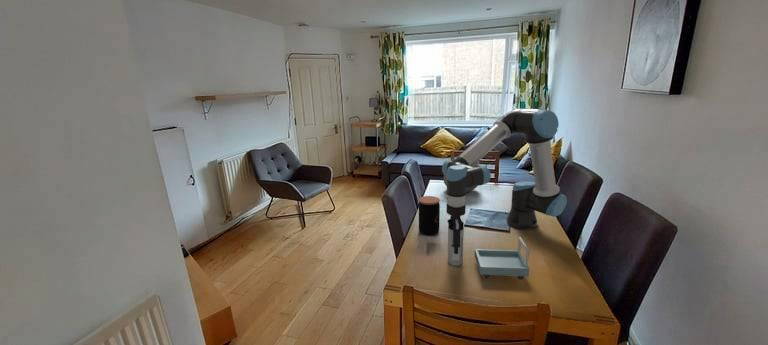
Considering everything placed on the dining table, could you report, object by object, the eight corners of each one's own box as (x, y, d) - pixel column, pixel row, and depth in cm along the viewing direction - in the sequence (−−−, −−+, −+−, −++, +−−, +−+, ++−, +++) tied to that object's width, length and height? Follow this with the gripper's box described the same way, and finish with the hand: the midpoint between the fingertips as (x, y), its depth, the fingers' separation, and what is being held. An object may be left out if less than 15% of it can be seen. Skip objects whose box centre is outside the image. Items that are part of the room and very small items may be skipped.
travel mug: (445, 260, 137) (445, 217, 132) (459, 259, 138) (461, 216, 132) (449, 268, 131) (449, 224, 126) (464, 267, 132) (466, 222, 126)
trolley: (517, 261, 135) (520, 235, 132) (528, 281, 122) (531, 252, 118) (474, 260, 137) (475, 234, 134) (479, 279, 124) (481, 250, 120)
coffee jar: (438, 237, 159) (439, 203, 155) (417, 235, 161) (417, 202, 157) (439, 228, 169) (440, 196, 165) (419, 226, 171) (419, 195, 167)
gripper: (444, 195, 137) (444, 244, 143) (448, 213, 119) (447, 267, 125) (462, 196, 136) (461, 244, 142) (468, 213, 118) (467, 268, 124)
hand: (454, 255), depth 133 cm, fingers closed on travel mug, 6 cm apart
